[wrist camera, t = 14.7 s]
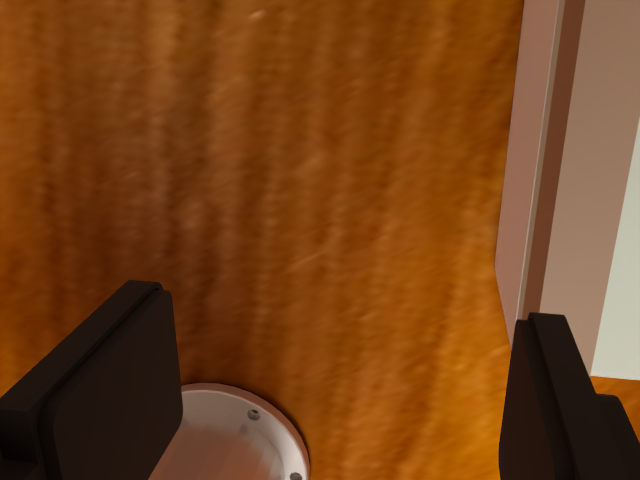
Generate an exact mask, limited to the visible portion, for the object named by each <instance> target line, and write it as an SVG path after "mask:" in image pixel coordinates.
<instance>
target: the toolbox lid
mask: <svg viewBox="0 0 640 480" xmlns="http://www.w3.org/2000/svg"><path fill="white" fill-rule="evenodd" d="M530 312H536V313H549V314H561V315H565V317H566V319H567V322H568V324H569V327H570V329H571V332H572V334H573V337H574V339H575V342H576V344H577V347H578V349H579V352H580V354H581V357H582V360H583V362H584V365H585V367H586V370H587V372H588V375H589V377H590V376H600V377H611V378H621V379H632V380H640V0H560V1H559V9H558V16H557V24H556V31H555V39H554V46H553V54H552V61H551V69H550V76H549V84H548V91H547V99H546V106H545V114H544V121H543V129H542V136H541V144H540V151H539V159H538V166H537V174H536V181H535V189H534V196H533V204H532V211H531V219H530V226H529V234H528V241H527V249H526V256H525V264H524V271H523V279H522V286H521V294H520V301H519V309H518V316H517V319H521V320H527V318H528V315H529V313H530Z"/></svg>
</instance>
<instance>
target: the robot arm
mask: <svg viewBox="0 0 640 480" xmlns="http://www.w3.org/2000/svg"><path fill="white" fill-rule="evenodd" d="M499 470H500V478H501V480H640V443H639V441H638V439H637V437H636V434H635V432H634V430H633V428H632V425H631V423H630V421H629V419H628V417H627V414H626V412H625V410H624V408H623V405H622V403H621V402H620V400H619V398H618V397H616V396H614V395H606V394H596V392H595V390H594V387H593V385H592V382H591V380H590V377H589V375H588V372H587V370H586V367H585V365H584V362H583V360H582V357H581V354H580V352H579V349H578V347H577V344H576V342H575V339H574V337H573V334H572V332H571V329H570V327H569V324H568V322H567V319H566V317H565V315H561V314H549V313H536V312H530V313H529V315H528V318H527V320H521V319H517V320H516V323H515V329H514V336H513V344H512V351H511V359H510V367H509V374H508V382H507V389H506V397H505V404H504V412H503V419H502V427H501V434H500V442H499ZM309 476H310V464H309V458H308V453H307V450H306V448H305V445H304V443H303V440H302V438H301V436H300V435H299V433H298V432H297V430H296V429H295V427H294V426H293V424H292V423H291V422H290V421H289V420H288V419H287V418H286V417H285V416H284V415H283V414H282V413H281V412H280V411H279V410H278V409H276V408H275V407H274V406H272V405H271V404H270V403H268V402H267V401H265V400H264V399H262V398H260V397H258V396H256V395H254V394H252V393H251V392H248V391H245V390H242V389H239V388H237V387H234V386H229V385H223V384H218V383H195V384H189V385H183V386H181V382H180V372H179V362H178V353H177V343H176V333H175V324H174V314H173V304H172V297H171V294H170V292H169V291H166V290H163V287H162V285H161V284H160V283H159V282H147V281H135V280H129V281H127V282H126V283H125V284H124V285H123V286H122V287H120V288H119V289H118V290H117V291H116V292H115V293H114V294H113V295H112V296H111V297H110V298H109V299H107V300H106V301H105V302H104V303H103V304H102V305H101V306H100V307H99V308H98V309H97V310H95V311H94V312H93V313H92V314H91V315H90V316H89V317H88V318H87V319H86V320H85V321H84V322H82V323H81V324H80V325H79V326H78V327H77V328H76V329H75V330H74V331H73V332H72V333H70V334H69V335H68V336H67V337H66V338H65V339H64V340H63V341H62V342H61V343H60V344H59V345H57V346H56V347H55V348H54V349H53V350H52V351H51V352H50V353H49V354H48V355H47V356H46V357H44V358H43V359H42V360H41V361H40V362H39V363H38V364H37V365H36V366H35V367H34V368H32V369H31V370H30V371H29V372H28V373H27V374H26V375H25V376H24V377H23V378H22V379H21V380H19V381H18V382H17V383H16V384H15V385H14V386H13V387H12V388H11V389H10V390H9V391H7V392H6V393H5V394H4V395H3V396H2V397H1V398H0V480H309Z"/></svg>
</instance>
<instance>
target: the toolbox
mask: <svg viewBox="0 0 640 480" xmlns="http://www.w3.org/2000/svg"><path fill="white" fill-rule="evenodd" d="M559 1H560V0H524V8H523V17H522V26H521V35H520V44H519V53H518V61H517V70H516V79H515V88H514V97H513V106H512V114H511V123H510V132H509V141H508V150H507V158H506V167H505V176H504V185H503V194H502V203H501V211H500V220H499V229H498V238H497V247H496V256H495V264H494V268H495V273H496V278H497V283H498V288H499V292H500V297H501V302H502V307H503V312H504V317H505V322H506V327H507V332H508V337H509V342H510V346H511V351H512V344H513V336H514V329H515V323H516V320H517V316H518V309H519V301H520V294H521V286H522V279H523V271H524V264H525V256H526V249H527V241H528V234H529V226H530V219H531V211H532V204H533V196H534V189H535V181H536V174H537V166H538V159H539V151H540V144H541V136H542V129H543V121H544V114H545V106H546V99H547V91H548V84H549V76H550V69H551V61H552V54H553V46H554V39H555V31H556V24H557V16H558V9H559Z"/></svg>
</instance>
